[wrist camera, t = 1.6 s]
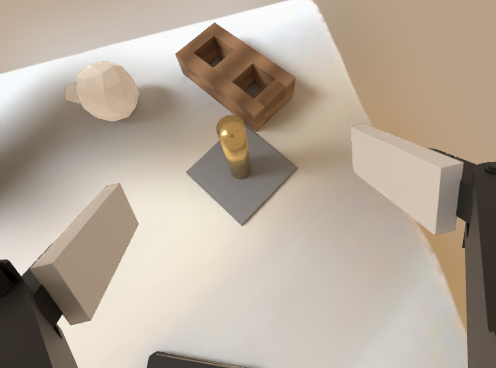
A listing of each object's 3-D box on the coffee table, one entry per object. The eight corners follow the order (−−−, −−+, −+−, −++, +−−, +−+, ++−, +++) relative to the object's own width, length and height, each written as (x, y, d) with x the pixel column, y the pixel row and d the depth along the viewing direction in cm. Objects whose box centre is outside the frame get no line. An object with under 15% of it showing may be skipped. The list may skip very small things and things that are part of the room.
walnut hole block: (183, 73, 49) (175, 53, 44) (218, 44, 50) (214, 22, 46) (255, 131, 44) (254, 115, 39) (292, 96, 45) (295, 77, 41)
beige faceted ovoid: (152, 76, 46) (93, 79, 49) (115, 48, 38) (45, 53, 40) (149, 126, 46) (90, 126, 49) (110, 110, 37) (41, 111, 40)
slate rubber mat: (186, 173, 42) (186, 172, 42) (240, 123, 44) (240, 121, 44) (241, 225, 39) (241, 225, 38) (296, 168, 41) (297, 167, 41)
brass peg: (226, 170, 41) (210, 128, 30) (240, 156, 42) (230, 110, 31) (241, 183, 40) (230, 145, 29) (255, 169, 41) (251, 126, 30)
